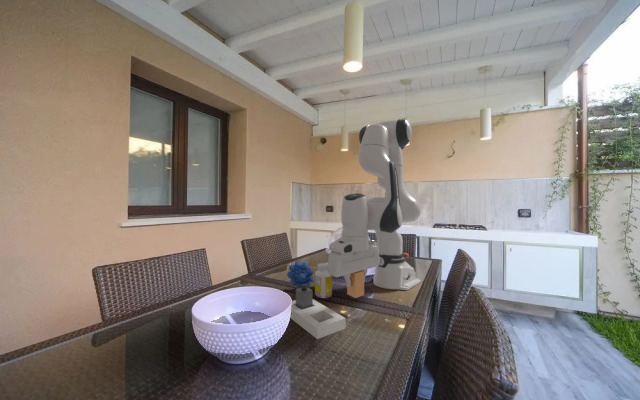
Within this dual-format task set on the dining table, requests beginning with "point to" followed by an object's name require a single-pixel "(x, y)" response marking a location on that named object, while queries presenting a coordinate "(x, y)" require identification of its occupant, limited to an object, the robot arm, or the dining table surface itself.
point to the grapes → (300, 274)
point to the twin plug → (304, 297)
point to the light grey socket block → (318, 319)
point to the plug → (356, 284)
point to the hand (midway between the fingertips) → (355, 284)
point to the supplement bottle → (323, 281)
